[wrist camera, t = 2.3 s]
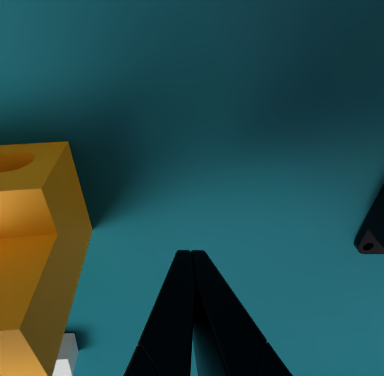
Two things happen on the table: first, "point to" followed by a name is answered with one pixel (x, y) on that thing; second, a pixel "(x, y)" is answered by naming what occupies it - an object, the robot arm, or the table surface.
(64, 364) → the collar track
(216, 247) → the table surface
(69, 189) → the pipe clamp
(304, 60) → the table surface
